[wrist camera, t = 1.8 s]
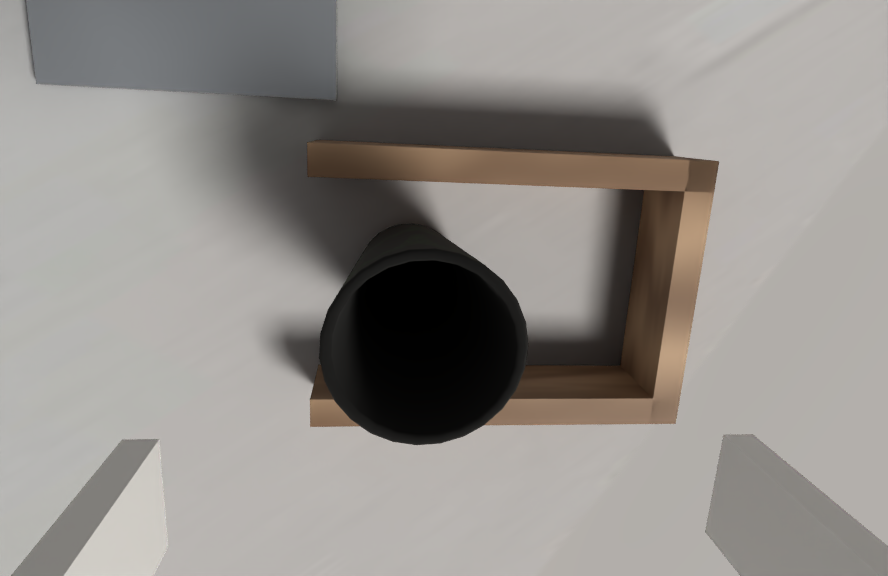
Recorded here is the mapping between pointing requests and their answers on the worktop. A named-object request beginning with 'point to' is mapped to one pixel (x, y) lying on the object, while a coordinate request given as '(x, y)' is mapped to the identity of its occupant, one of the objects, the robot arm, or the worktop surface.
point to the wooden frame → (653, 282)
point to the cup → (422, 339)
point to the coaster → (188, 45)
